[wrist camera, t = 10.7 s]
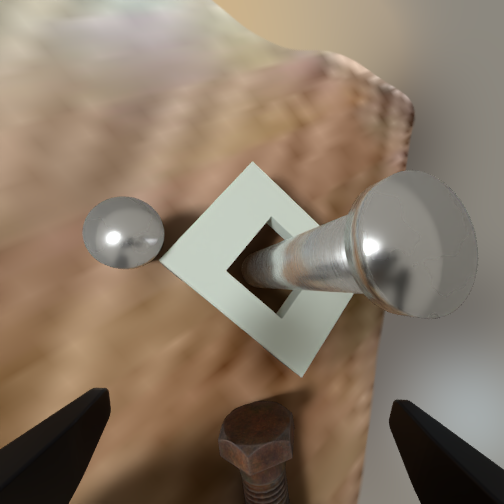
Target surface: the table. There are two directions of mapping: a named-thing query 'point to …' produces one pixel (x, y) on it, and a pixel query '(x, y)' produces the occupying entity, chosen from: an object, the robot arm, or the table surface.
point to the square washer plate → (234, 293)
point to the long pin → (383, 250)
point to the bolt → (259, 449)
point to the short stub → (123, 233)
